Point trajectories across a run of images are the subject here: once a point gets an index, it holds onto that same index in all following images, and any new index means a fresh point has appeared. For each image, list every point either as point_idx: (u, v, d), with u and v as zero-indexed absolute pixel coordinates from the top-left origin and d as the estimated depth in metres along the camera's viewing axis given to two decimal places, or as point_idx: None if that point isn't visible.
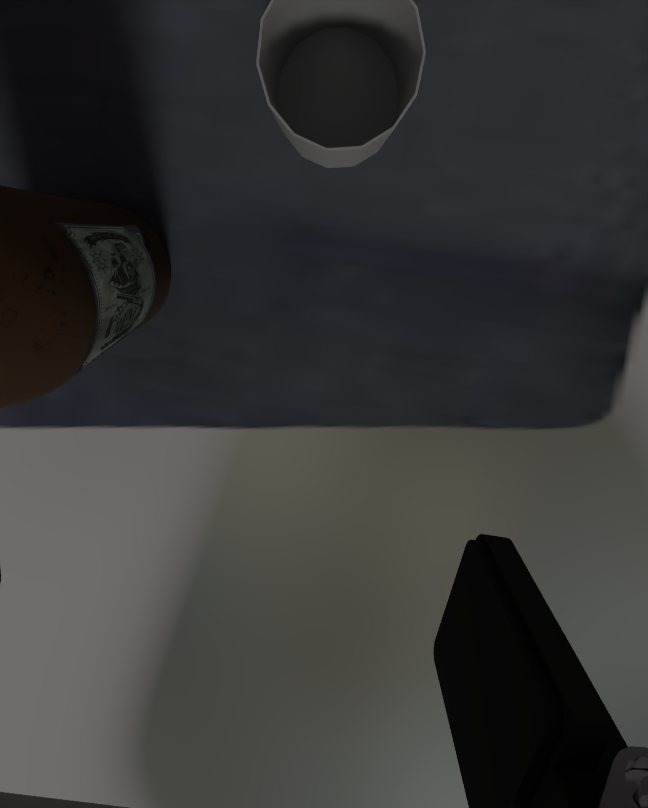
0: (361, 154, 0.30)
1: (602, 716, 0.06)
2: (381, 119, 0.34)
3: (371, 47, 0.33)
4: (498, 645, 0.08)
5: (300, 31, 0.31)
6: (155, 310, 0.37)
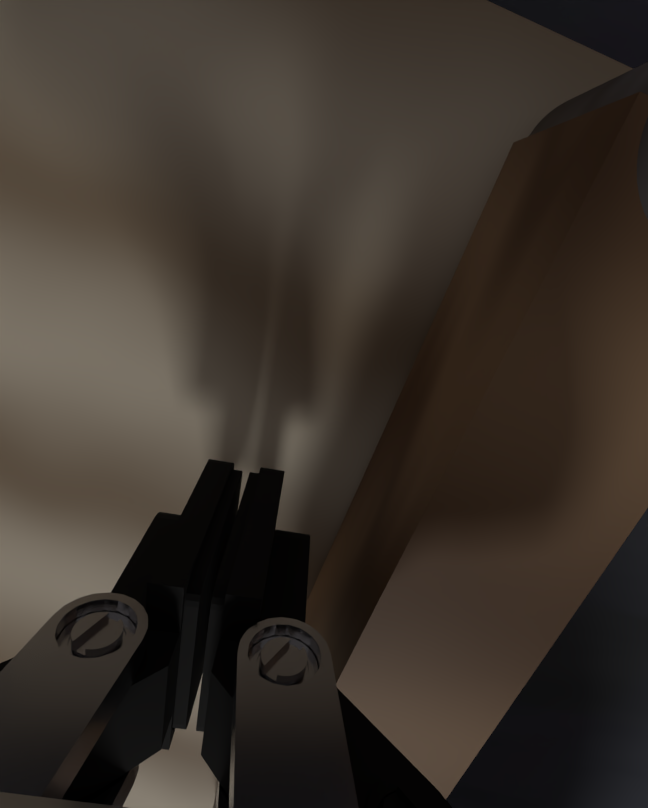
0: None
1: (254, 591, 0.07)
2: None
3: None
4: None
5: None
6: None
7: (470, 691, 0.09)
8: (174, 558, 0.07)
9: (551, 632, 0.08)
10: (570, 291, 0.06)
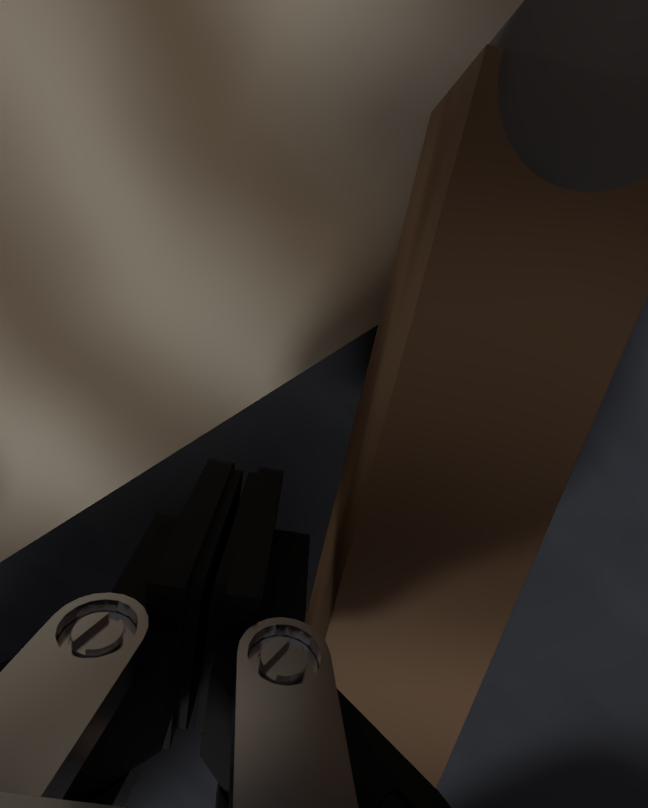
0: None
1: (253, 591, 0.07)
2: None
3: None
4: None
5: None
6: None
7: (452, 638, 0.09)
8: (174, 558, 0.07)
9: (518, 572, 0.08)
10: (463, 240, 0.07)
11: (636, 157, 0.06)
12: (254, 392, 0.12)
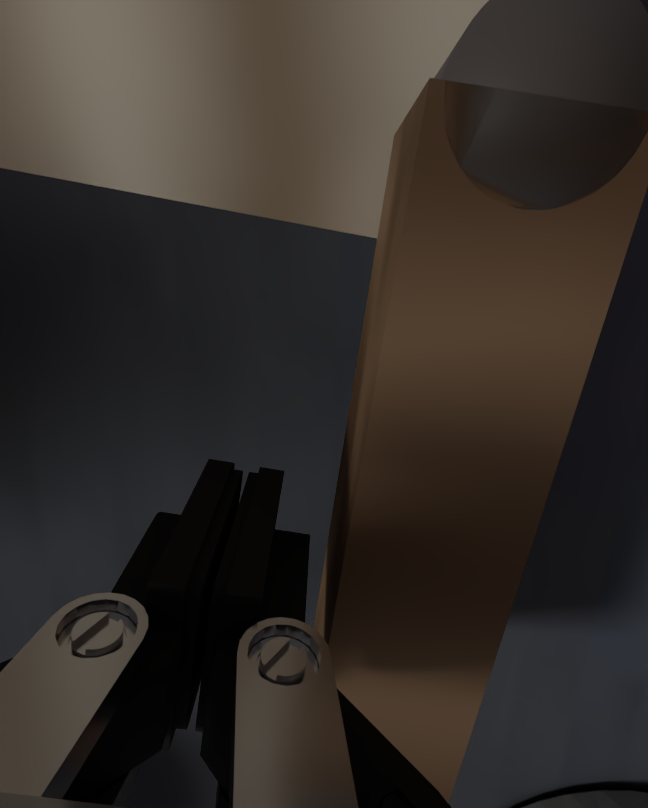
0: None
1: (253, 591, 0.07)
2: None
3: None
4: None
5: None
6: None
7: (452, 651, 0.09)
8: (174, 558, 0.07)
9: (510, 581, 0.08)
10: (425, 264, 0.07)
11: (585, 173, 0.06)
12: (100, 176, 0.11)
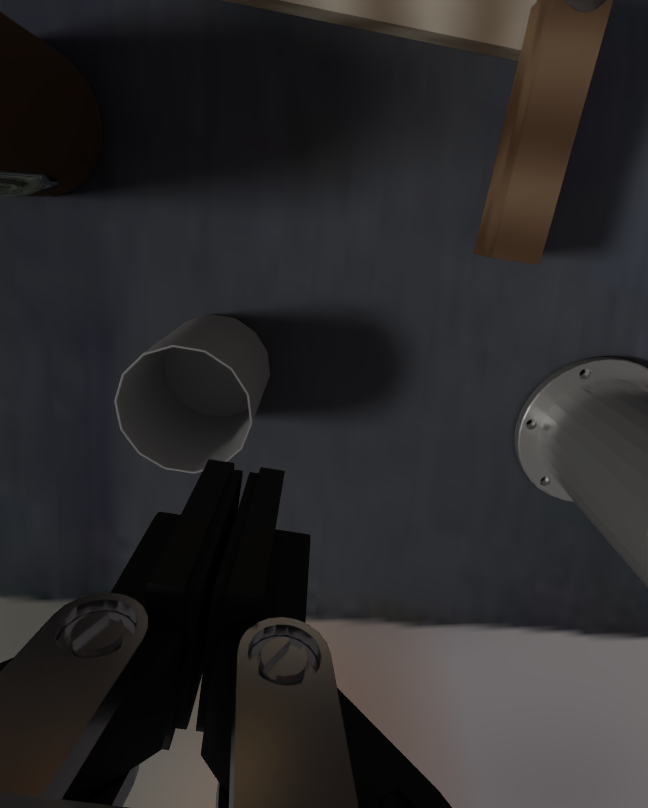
0: (142, 411, 0.35)
1: (253, 591, 0.07)
2: (203, 404, 0.41)
3: None
4: None
5: None
6: None
7: (552, 167, 0.29)
8: (174, 558, 0.07)
9: (572, 137, 0.28)
10: (555, 28, 0.27)
11: (596, 2, 0.26)
12: (423, 25, 0.30)
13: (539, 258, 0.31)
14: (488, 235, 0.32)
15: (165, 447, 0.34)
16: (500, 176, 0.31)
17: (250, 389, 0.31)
